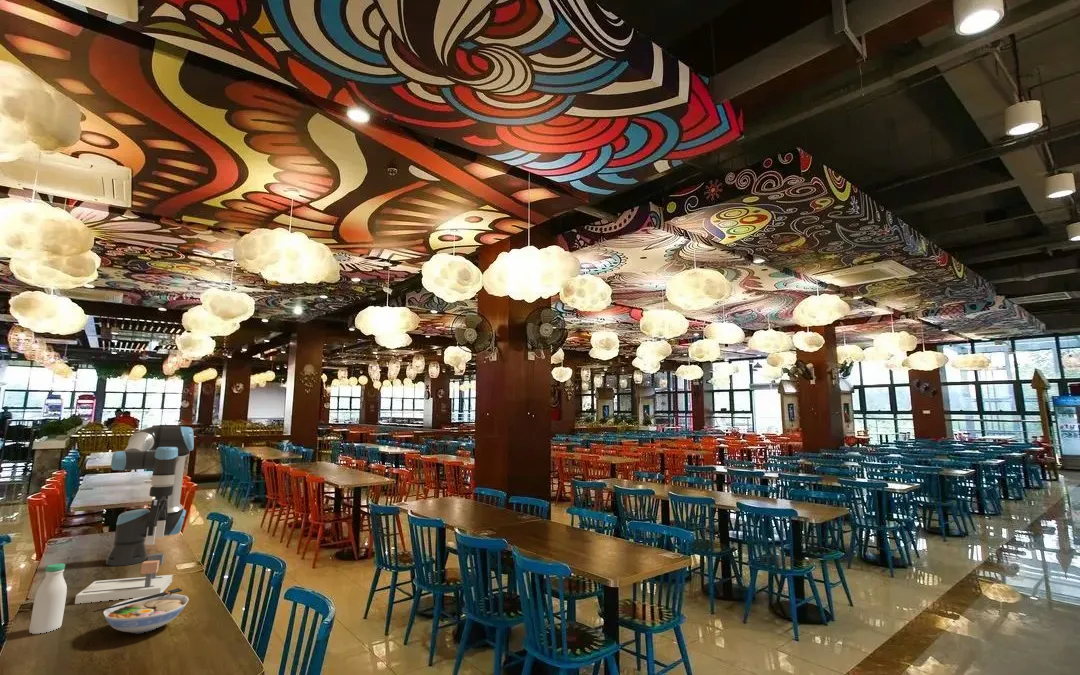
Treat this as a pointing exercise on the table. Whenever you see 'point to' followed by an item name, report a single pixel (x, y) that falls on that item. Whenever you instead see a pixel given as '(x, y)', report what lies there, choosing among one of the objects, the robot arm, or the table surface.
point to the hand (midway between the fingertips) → (154, 540)
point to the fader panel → (122, 589)
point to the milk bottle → (49, 601)
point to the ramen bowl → (145, 612)
